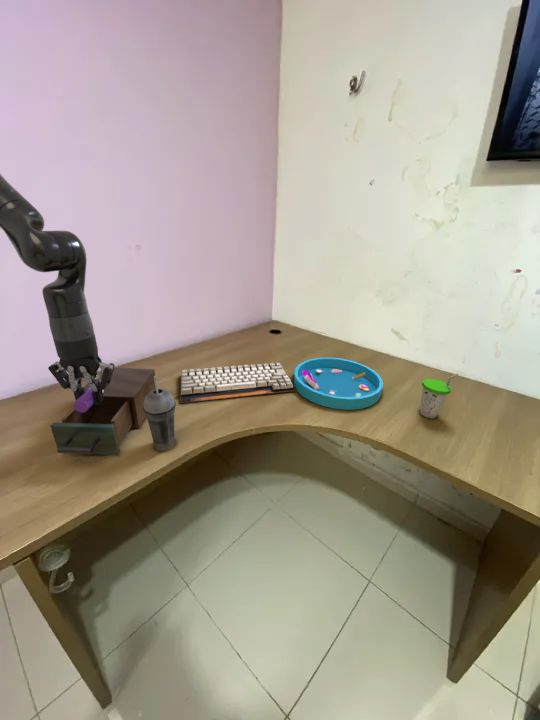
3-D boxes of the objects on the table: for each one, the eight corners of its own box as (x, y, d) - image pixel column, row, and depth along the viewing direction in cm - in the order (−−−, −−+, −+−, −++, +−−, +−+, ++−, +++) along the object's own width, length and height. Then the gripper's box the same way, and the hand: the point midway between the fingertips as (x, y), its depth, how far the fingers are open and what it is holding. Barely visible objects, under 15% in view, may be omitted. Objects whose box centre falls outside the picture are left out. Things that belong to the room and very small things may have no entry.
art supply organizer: (283, 369, 118) (284, 355, 116) (354, 364, 125) (357, 350, 123) (311, 414, 92) (313, 397, 89) (399, 404, 99) (403, 388, 96)
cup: (409, 412, 95) (421, 368, 89) (422, 404, 100) (434, 362, 93) (434, 425, 90) (449, 379, 83) (446, 416, 94) (461, 372, 88)
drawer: (109, 468, 68) (102, 440, 65) (46, 466, 68) (36, 438, 65) (141, 417, 85) (137, 393, 82) (91, 416, 85) (85, 391, 82)
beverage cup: (180, 434, 81) (174, 365, 73) (178, 453, 75) (170, 380, 66) (151, 436, 80) (141, 367, 72) (146, 455, 74) (134, 382, 65)
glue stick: (90, 409, 68) (81, 398, 67) (79, 414, 69) (70, 404, 68) (106, 391, 75) (98, 382, 74) (96, 396, 76) (88, 387, 74)
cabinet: (139, 428, 83) (133, 397, 79) (83, 426, 82) (74, 395, 78) (158, 396, 97) (154, 369, 93) (110, 395, 97) (104, 367, 92)
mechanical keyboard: (180, 404, 94) (179, 394, 92) (180, 375, 111) (179, 367, 109) (297, 392, 103) (298, 383, 102) (280, 367, 120) (281, 359, 119)
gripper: (115, 328, 68) (127, 395, 76) (51, 326, 68) (69, 393, 75) (99, 341, 62) (114, 413, 69) (27, 339, 61) (50, 411, 69)
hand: (90, 402), depth 72 cm, fingers closed on glue stick, 3 cm apart
